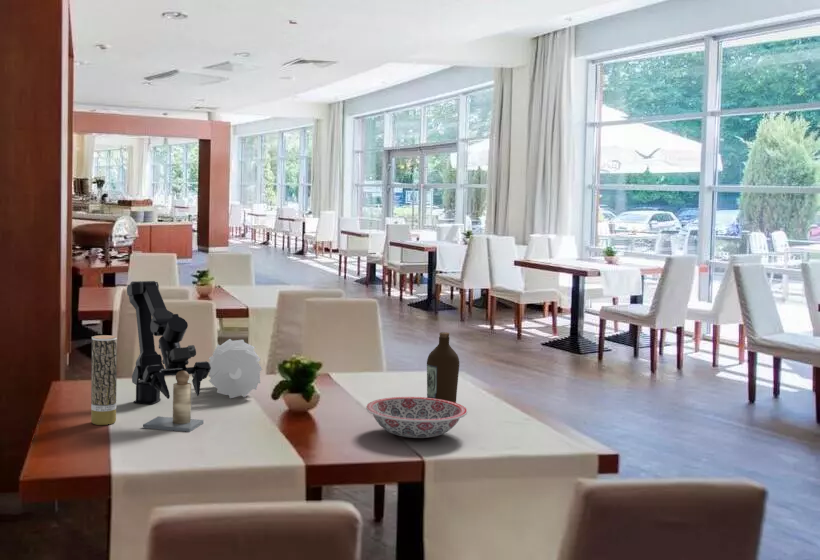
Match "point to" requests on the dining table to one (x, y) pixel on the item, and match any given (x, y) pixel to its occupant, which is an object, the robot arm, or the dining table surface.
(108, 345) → the paper tube
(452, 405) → the ceramic bowl
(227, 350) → the spiral staircase
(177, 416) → the pepper mill
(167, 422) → the slate board
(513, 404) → the dining table surface
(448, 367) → the olive oil
